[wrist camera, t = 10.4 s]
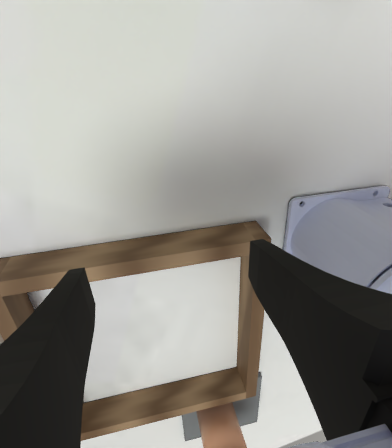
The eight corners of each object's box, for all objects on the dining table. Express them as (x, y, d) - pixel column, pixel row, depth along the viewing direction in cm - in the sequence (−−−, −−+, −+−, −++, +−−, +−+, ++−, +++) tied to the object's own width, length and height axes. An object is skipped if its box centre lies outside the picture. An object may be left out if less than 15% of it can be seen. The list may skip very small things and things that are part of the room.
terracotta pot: (218, 389, 33) (239, 461, 27) (242, 403, 36) (266, 471, 30) (185, 413, 34) (198, 487, 28) (211, 424, 37) (228, 494, 31)
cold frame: (255, 220, 24) (271, 238, 22) (246, 371, 34) (255, 395, 31) (-166, 282, 19) (-212, 315, 16) (-35, 438, 29) (-51, 474, 26)
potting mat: (259, 372, 35) (261, 376, 34) (255, 417, 39) (256, 421, 39) (178, 391, 33) (179, 396, 32) (184, 436, 38) (185, 441, 37)
